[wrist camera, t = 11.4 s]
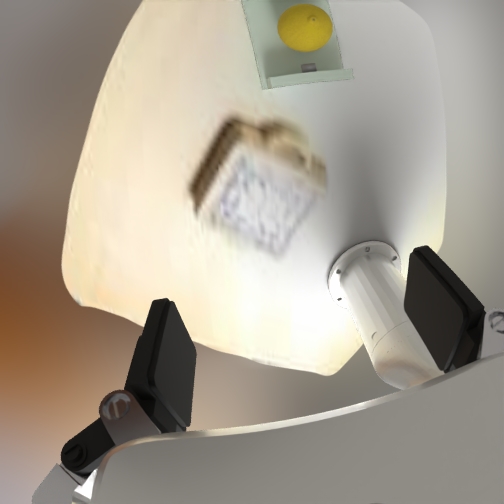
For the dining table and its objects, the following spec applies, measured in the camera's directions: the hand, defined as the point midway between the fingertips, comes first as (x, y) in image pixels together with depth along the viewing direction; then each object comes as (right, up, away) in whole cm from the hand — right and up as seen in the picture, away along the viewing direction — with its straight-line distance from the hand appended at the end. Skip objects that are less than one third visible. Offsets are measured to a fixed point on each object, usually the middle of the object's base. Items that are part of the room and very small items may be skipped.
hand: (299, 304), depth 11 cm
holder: (+3, +27, +17) cm, 32 cm away
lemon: (+3, +27, +16) cm, 32 cm away
